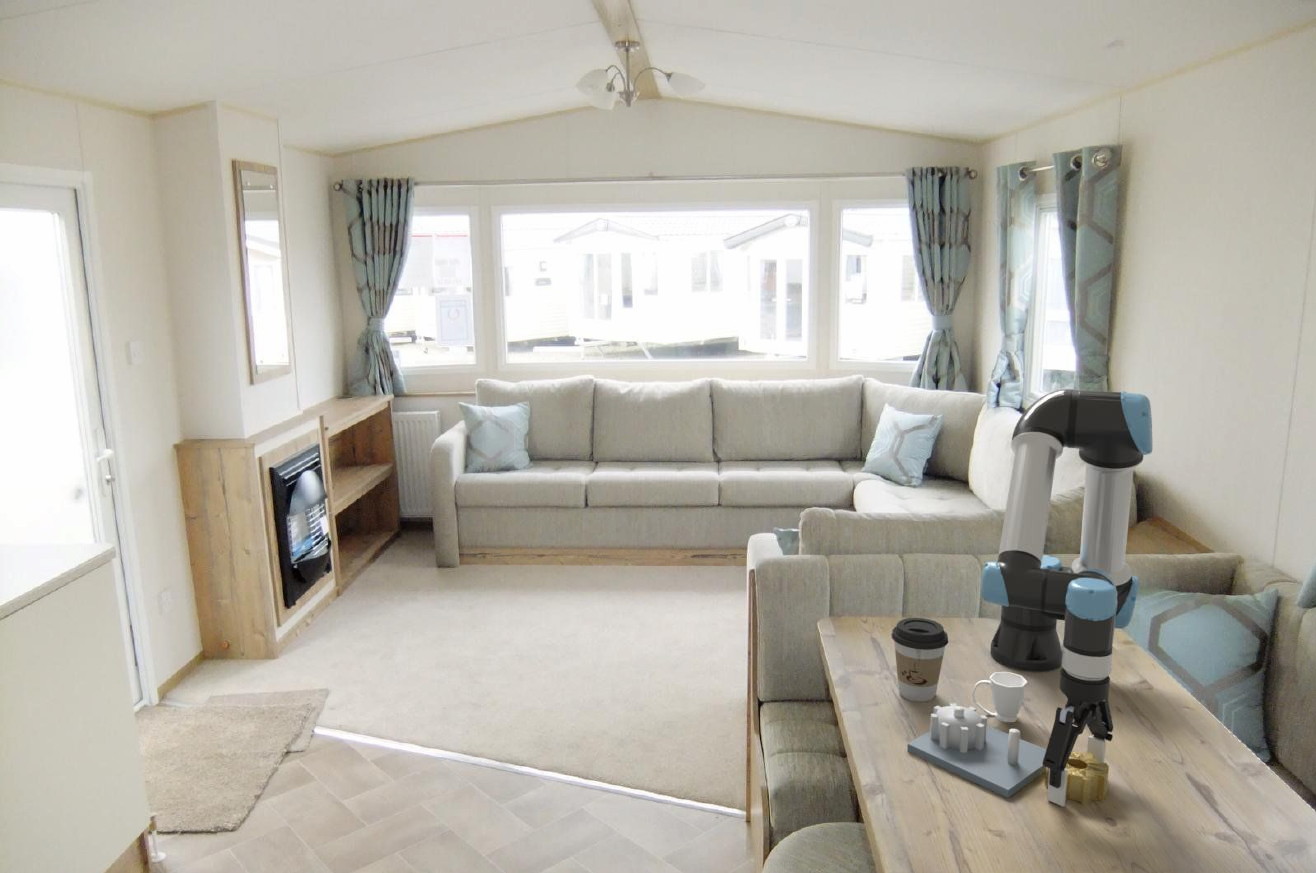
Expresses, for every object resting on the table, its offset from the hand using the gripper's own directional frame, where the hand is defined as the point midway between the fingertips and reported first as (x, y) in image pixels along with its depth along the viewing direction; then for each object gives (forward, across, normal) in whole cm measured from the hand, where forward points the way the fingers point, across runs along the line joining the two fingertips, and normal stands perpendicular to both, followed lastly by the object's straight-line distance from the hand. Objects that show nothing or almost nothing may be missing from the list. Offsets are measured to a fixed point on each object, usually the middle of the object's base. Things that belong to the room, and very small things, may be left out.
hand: (1075, 787), depth 160 cm
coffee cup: (0, -9, -38) cm, 39 cm away
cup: (0, -13, -22) cm, 26 cm away
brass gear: (0, 0, 0) cm, 0 cm away
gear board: (0, +3, -16) cm, 16 cm away
